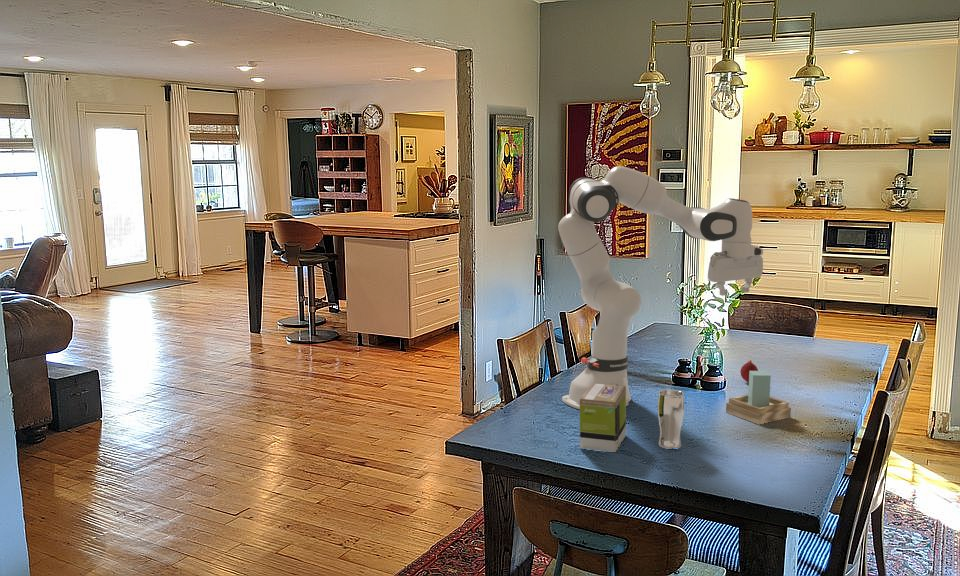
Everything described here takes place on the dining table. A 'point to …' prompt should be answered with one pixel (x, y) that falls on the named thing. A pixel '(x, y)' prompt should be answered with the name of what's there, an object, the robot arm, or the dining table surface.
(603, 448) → the tea box
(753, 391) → the block
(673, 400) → the beer glass
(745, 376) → the onion
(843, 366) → the dining table surface
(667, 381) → the dining table surface
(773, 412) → the tray
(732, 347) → the dining table surface
